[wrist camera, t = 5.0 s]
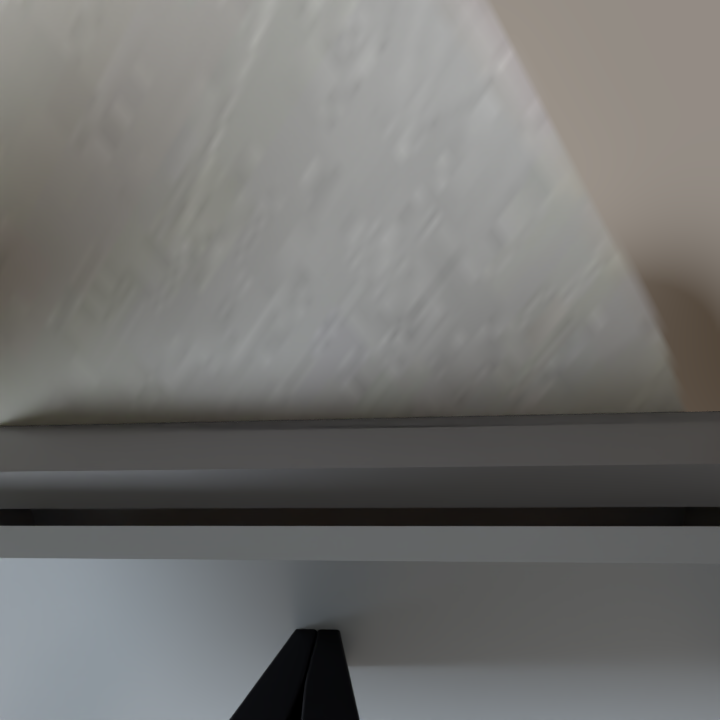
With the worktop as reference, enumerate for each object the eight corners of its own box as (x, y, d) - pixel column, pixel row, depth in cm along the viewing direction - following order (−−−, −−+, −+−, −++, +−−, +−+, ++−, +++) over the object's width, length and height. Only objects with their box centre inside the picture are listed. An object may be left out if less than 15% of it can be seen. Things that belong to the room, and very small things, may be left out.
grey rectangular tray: (728, 411, 11) (821, 462, 9) (679, 654, 13) (741, 748, 11) (-8, 426, 13) (-101, 472, 10) (62, 638, 15) (0, 716, 13)
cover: (875, 526, 8) (926, 565, 7) (748, 757, 11) (773, 801, 10) (-150, 525, 9) (-195, 556, 9) (-6, 724, 12) (-31, 758, 12)
